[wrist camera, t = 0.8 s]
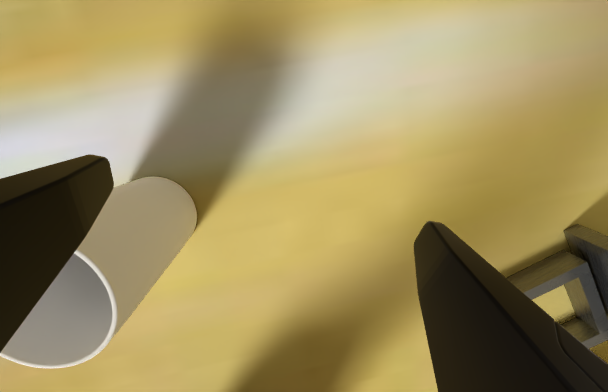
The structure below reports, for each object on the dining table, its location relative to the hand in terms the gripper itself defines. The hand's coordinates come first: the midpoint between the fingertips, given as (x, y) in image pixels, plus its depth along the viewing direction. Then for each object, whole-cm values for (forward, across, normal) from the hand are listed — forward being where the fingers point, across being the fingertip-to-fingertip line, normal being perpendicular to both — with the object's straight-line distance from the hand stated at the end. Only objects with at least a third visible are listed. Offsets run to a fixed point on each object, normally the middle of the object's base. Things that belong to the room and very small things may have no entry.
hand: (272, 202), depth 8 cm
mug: (+11, +10, +14) cm, 20 cm away
